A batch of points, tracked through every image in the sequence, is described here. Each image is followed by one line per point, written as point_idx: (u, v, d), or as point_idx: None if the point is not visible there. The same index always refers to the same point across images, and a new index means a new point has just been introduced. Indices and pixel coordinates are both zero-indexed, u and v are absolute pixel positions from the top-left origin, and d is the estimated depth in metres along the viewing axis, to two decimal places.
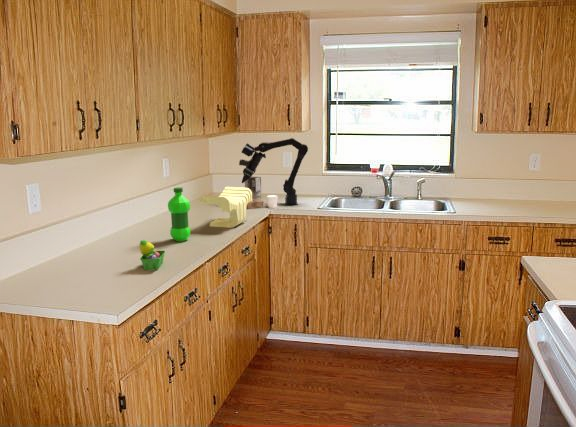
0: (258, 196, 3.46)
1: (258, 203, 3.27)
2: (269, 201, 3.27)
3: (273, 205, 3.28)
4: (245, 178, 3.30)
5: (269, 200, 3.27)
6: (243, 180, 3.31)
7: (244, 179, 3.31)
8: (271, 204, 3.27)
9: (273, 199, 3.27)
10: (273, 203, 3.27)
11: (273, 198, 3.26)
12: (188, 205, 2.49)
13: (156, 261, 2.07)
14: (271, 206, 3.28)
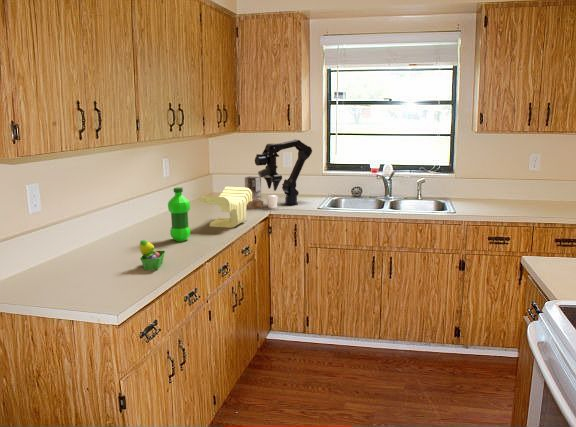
0: (258, 196, 3.46)
1: (258, 203, 3.27)
2: (269, 201, 3.27)
3: (273, 205, 3.28)
4: (276, 184, 3.23)
5: (269, 200, 3.27)
6: (275, 187, 3.23)
7: (275, 186, 3.23)
8: (271, 204, 3.27)
9: (273, 199, 3.27)
10: (273, 203, 3.27)
11: (273, 198, 3.26)
12: (188, 205, 2.49)
13: (156, 261, 2.07)
14: (271, 206, 3.28)
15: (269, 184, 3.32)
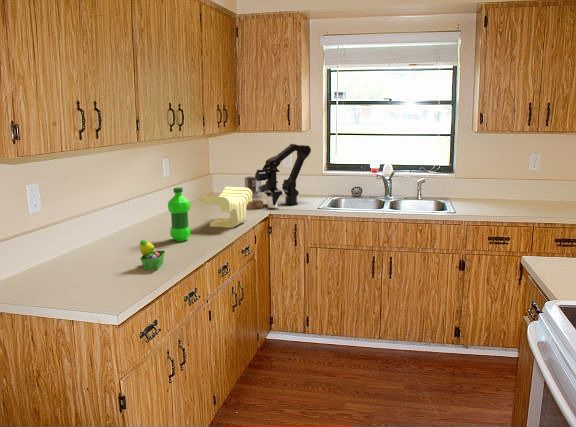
0: (258, 196, 3.46)
1: (258, 203, 3.27)
2: (269, 201, 3.27)
3: (273, 205, 3.28)
4: (275, 199, 3.26)
5: (269, 200, 3.27)
6: (274, 202, 3.27)
7: (275, 201, 3.26)
8: (271, 204, 3.27)
9: None
10: None
11: None
12: (188, 205, 2.49)
13: (156, 261, 2.07)
14: (271, 206, 3.28)
15: None
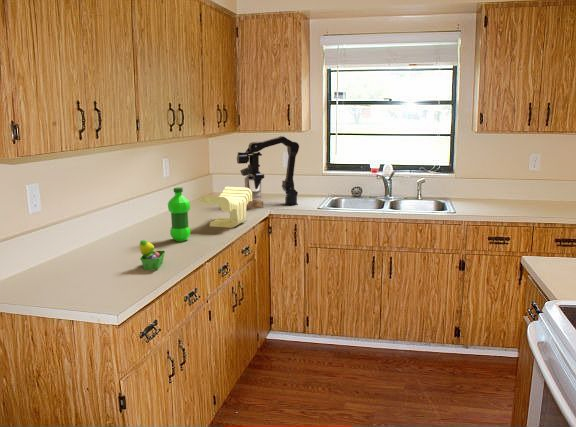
0: (258, 196, 3.46)
1: (258, 203, 3.27)
2: (251, 185, 3.25)
3: (255, 189, 3.26)
4: (257, 183, 3.24)
5: (251, 184, 3.25)
6: (256, 186, 3.24)
7: (257, 184, 3.24)
8: (253, 188, 3.25)
9: None
10: None
11: None
12: (188, 205, 2.49)
13: (156, 261, 2.07)
14: (253, 190, 3.26)
15: None
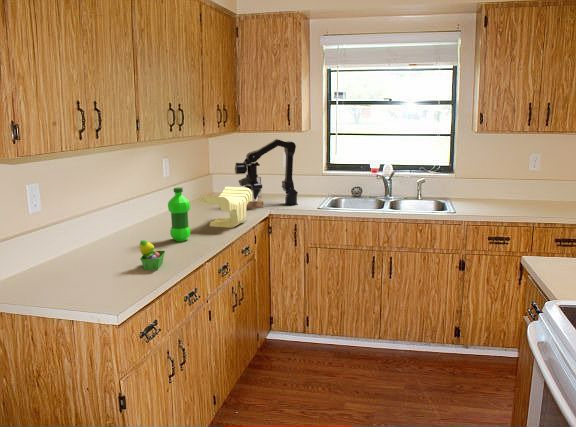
0: (258, 196, 3.46)
1: (258, 203, 3.27)
2: None
3: (253, 199, 3.27)
4: (256, 193, 3.24)
5: None
6: (255, 196, 3.25)
7: (255, 195, 3.25)
8: None
9: None
10: (253, 197, 3.27)
11: None
12: (188, 205, 2.49)
13: (156, 261, 2.07)
14: None
15: None
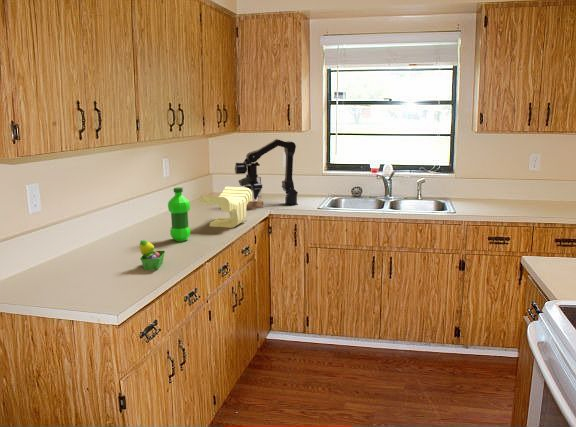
0: (258, 196, 3.46)
1: (258, 203, 3.27)
2: None
3: (253, 199, 3.27)
4: (256, 193, 3.24)
5: None
6: (255, 196, 3.25)
7: (256, 195, 3.24)
8: None
9: None
10: (253, 197, 3.27)
11: None
12: (188, 205, 2.49)
13: (156, 261, 2.07)
14: None
15: None
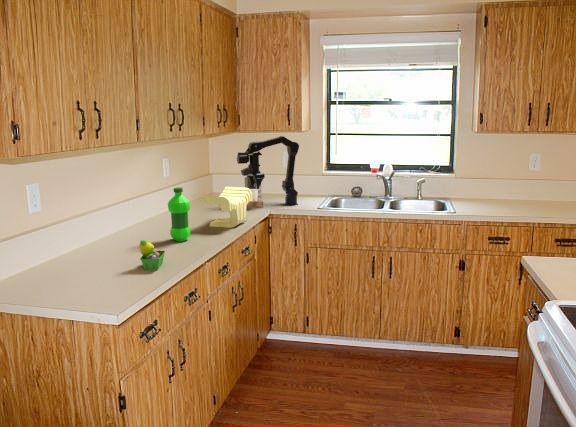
0: (258, 196, 3.46)
1: (258, 203, 3.27)
2: None
3: (253, 199, 3.27)
4: (258, 183, 3.23)
5: None
6: (258, 186, 3.23)
7: (258, 184, 3.23)
8: None
9: (253, 193, 3.26)
10: (253, 197, 3.27)
11: (253, 191, 3.26)
12: (188, 205, 2.49)
13: (156, 261, 2.07)
14: None
15: (253, 182, 3.32)
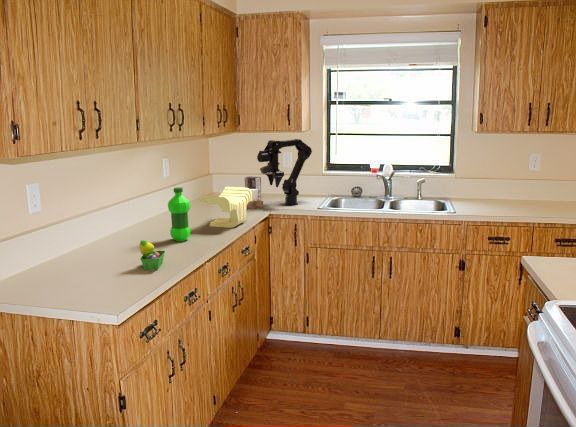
0: (258, 196, 3.46)
1: (258, 203, 3.27)
2: None
3: (253, 199, 3.27)
4: (278, 181, 3.22)
5: None
6: (277, 184, 3.22)
7: (277, 183, 3.22)
8: None
9: (253, 193, 3.26)
10: (253, 197, 3.27)
11: (253, 191, 3.26)
12: (188, 205, 2.49)
13: (156, 261, 2.07)
14: None
15: (271, 180, 3.31)
